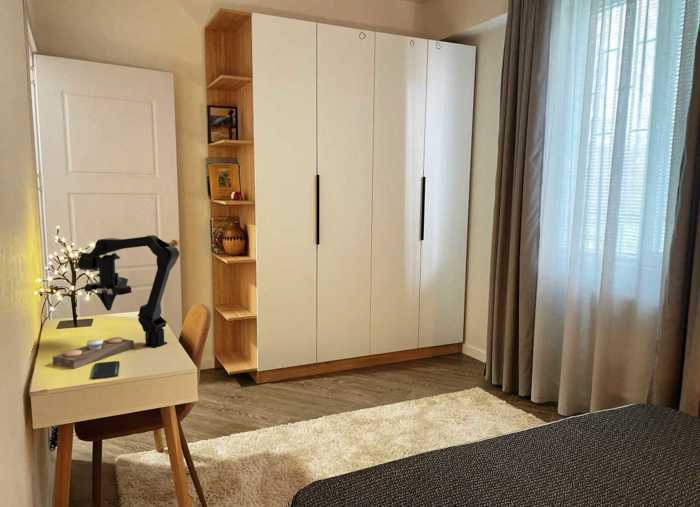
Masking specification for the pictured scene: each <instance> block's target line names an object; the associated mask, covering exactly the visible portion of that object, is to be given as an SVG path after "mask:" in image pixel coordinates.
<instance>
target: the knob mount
mask: <svg viewBox="0 0 700 507" xmlns="http://www.w3.org/2000/svg"><path fill="white" fill-rule="evenodd" d="M108 339H109V338H108ZM108 339H105V340H103V344H101V349H98V350H95V351H94V350H89V346H88V345H86V346H85V345H84V346H82V347H79V348H76V349H74V350H81V351H82V355H80V356H77V357H73V358H71V357H65V352H63V353H62V352H61V353H59V354H56V355H53V356H52V365H53V366H58V367H63V368H68V369H72V370H73V369H74V370H75V369H78V368H81V367H84V366H86V365H90V364H93V363H97V362H98V361H101V360H105V359H107V358H110V357H112V356H116V355H119V354H121V353H124V352H127V351H129V350H133V349H134V347H135V346H134V345H135V344H134V342H135V341H134V340H132V339H125V338H123V341H122V342H121V343H117V344H110V343H108V341H107V340H108Z"/></svg>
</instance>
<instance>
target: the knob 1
mask: <svg viewBox="0 0 700 507" xmlns="http://www.w3.org/2000/svg"><path fill="white" fill-rule="evenodd" d="M64 353H65V357H71V358H73V357H77V356H80V355H82V351H81V350H75V349H73V350H68V351H66V352H64Z"/></svg>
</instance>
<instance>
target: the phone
mask: <svg viewBox="0 0 700 507" xmlns="http://www.w3.org/2000/svg"><path fill="white" fill-rule="evenodd" d="M92 369H93V370H92V373H91V380H101V379H104V378H105V379H110V378H117V377H119V371H120V360H119V361H118V360H113V361H104V362H103V361H102V362H101V361H100V362H94V365H93V368H92Z"/></svg>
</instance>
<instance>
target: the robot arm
mask: <svg viewBox="0 0 700 507" xmlns="http://www.w3.org/2000/svg"><path fill="white" fill-rule="evenodd" d="M140 247H148V248H149V250H150V252H152V254H153V255H155V256H156V266H157V268H156V272H155V276H154V280H153V283H152V285H151V286H152V287H151V290H150V293H149V295H148V296H149V297H148V300H147V303H146V304H143V305H141V306H140V307H139V312H138V314H137V317H138V319H137V320H138V323H139V324H140V325H141V328H142V330H143V332H144V333H145V334H144V336H145V343H144V344H143V345H142V346H143V347H144V346H145V347H152V348H158V347H161V346H163V345H166V344H167V345H168V342H167V341H165V327H166V326H167V320H165V318H163V317H162V316H161V315H162V307H161V302H162V299H163V295H164V293H165V289H166V286H167V282H168V279H169V276H170V273H171V272H170V271H171V270H172V269H173V267H174V266H175V265H176V264H177V261H178V259H179V258H180V252H179V250H178V248H177V247H176V246H173V245H172V246H171V245H170V244H169V243H168V242H166V241H164V240H163V239H161V238H160V237H158V236H156V235H154V234H151V235H146V236H140V237H139V236H138V237H130V238H114V237H109V238H108V237H107V238H100V239H97V241H96V242H95V245H94V248H93V249H92V251H91V252H81V253H80V256H79V258H78V261H77V266H78V269H79V270H81V271H97V270H98V273H96V277H97V278H99V280H98V281H99V282H91V283H86V284H85V286H84V292H87V293H88V292H89V293H91V292H92V291H94V290H96V293H95V295H96V296H97V297H98V299H100V301H101V303H102V305H103V306H104V308H105V309H106V311H109V312H110V311H111V310H112V307H113V304H114V302H115V299H116V297H117V296H123V295H127V294H132V287H131V286H130V285H127V284H128V283H129V282H128V281H129V279H128V278H126V277H122V276H119V272H116V260H120V259H121V256H119V255H118V254H117V253H116V252H117V251H120V250H124V249H131V248H132V249H133V248H140Z"/></svg>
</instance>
